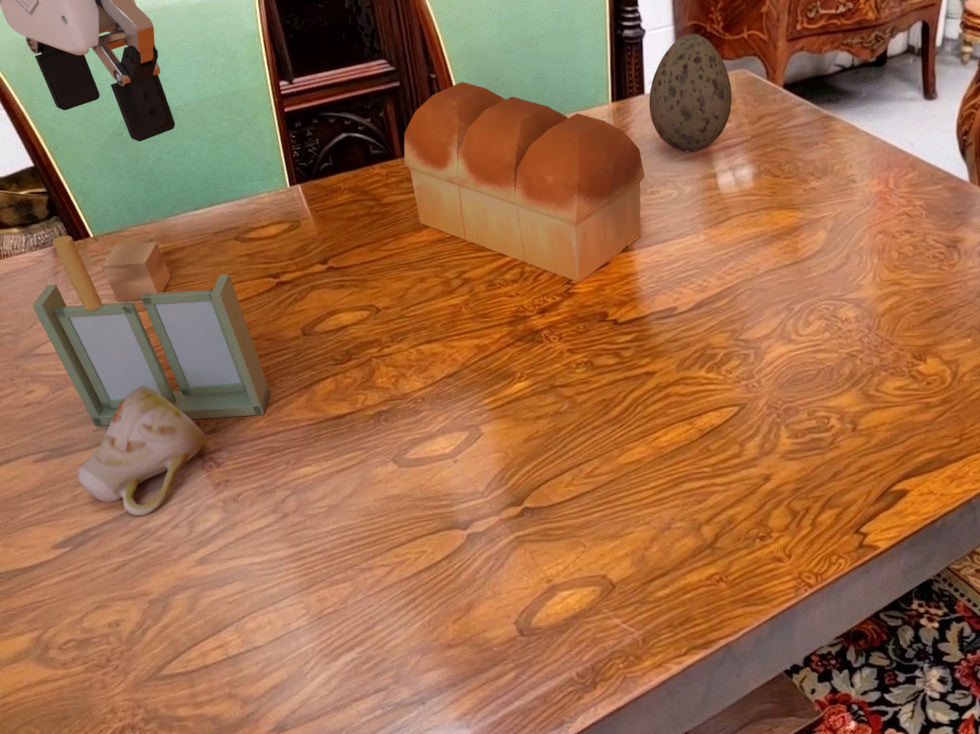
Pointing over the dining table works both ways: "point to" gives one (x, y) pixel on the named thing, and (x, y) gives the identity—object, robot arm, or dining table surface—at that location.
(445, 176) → the bread
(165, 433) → the mug
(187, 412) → the window frame
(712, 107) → the decorative egg
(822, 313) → the dining table surface
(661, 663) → the dining table surface
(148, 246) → the block
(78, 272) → the window pane
